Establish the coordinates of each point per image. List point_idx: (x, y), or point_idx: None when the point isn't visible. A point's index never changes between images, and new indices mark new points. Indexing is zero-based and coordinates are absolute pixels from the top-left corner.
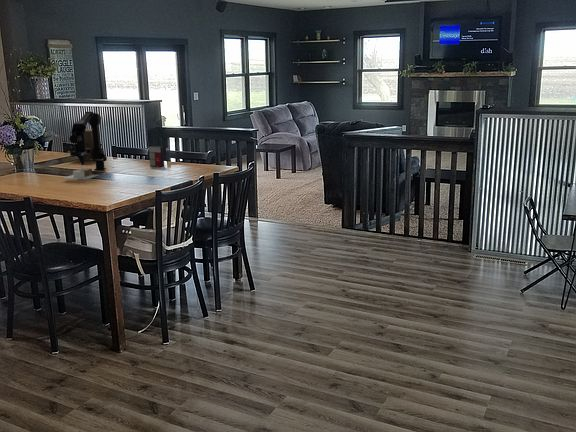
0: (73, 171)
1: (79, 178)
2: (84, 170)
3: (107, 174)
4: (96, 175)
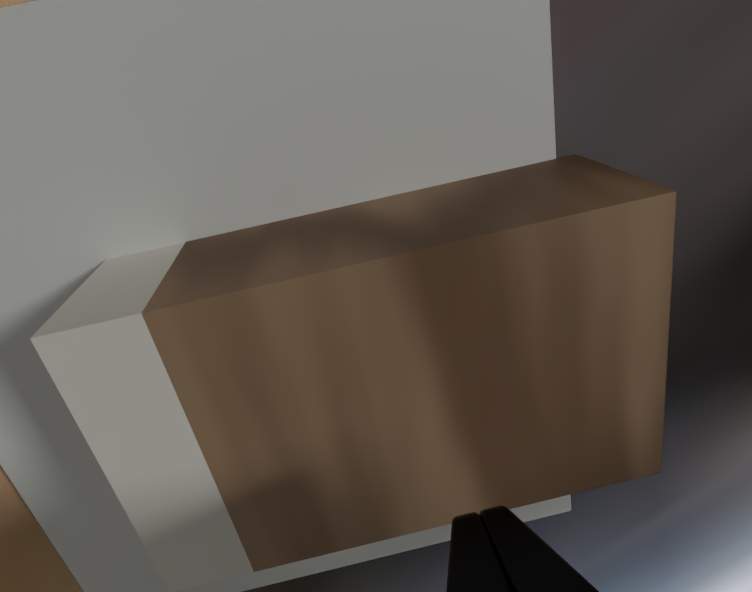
0: (44, 351)
1: (68, 493)
2: (337, 518)
3: (673, 546)
4: None
